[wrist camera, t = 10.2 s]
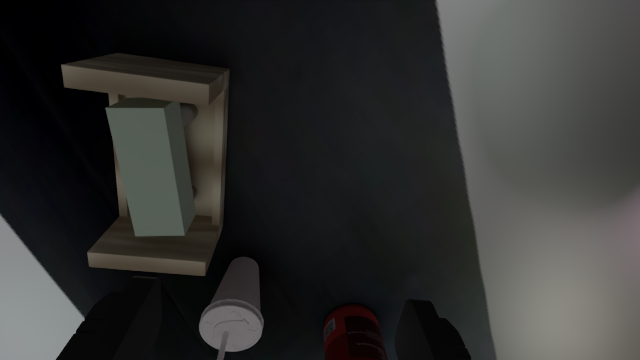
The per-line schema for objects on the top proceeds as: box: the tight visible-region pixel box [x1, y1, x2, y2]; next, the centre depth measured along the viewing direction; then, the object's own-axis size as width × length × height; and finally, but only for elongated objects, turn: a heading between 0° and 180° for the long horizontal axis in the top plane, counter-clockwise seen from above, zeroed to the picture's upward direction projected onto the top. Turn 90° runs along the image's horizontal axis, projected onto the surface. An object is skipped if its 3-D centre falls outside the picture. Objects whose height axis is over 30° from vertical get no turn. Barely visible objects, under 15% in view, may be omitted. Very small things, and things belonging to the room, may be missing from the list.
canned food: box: [323, 304, 388, 360], centre depth 45 cm, size 8×8×11 cm
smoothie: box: [199, 257, 263, 360], centre depth 39 cm, size 6×6×14 cm
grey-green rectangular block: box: [106, 98, 196, 236], centre depth 33 cm, size 12×4×4 cm, turn 179°
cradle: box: [61, 53, 230, 276], centre depth 34 cm, size 18×10×9 cm, turn 172°
